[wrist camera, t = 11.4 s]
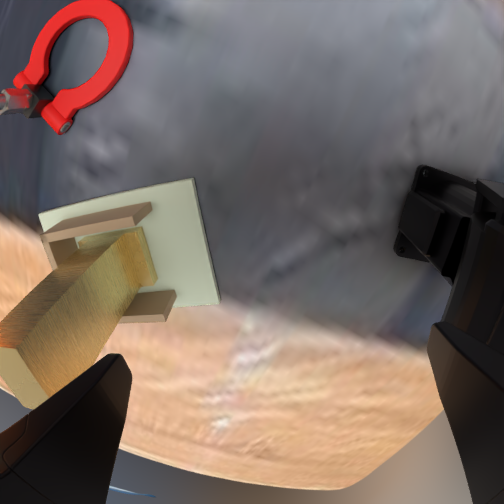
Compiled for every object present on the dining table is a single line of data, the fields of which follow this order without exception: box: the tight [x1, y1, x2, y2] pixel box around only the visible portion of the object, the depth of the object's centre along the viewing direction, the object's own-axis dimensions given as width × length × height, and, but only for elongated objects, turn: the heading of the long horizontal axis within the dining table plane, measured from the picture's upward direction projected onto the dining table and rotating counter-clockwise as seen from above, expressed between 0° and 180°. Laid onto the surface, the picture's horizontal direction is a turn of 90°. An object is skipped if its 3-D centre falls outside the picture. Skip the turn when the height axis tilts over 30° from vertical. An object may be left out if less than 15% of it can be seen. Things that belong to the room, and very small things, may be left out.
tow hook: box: [0, 0, 133, 135], centre depth 10 cm, size 8×13×9 cm
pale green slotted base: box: [39, 178, 221, 323], centre depth 20 cm, size 13×9×4 cm
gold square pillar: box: [0, 226, 158, 409], centre depth 16 cm, size 5×4×12 cm
